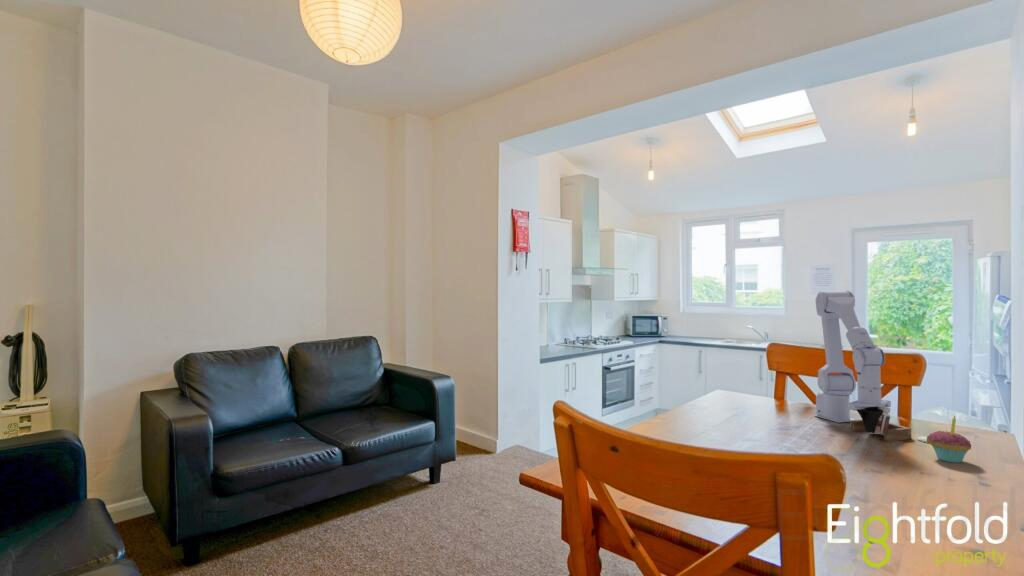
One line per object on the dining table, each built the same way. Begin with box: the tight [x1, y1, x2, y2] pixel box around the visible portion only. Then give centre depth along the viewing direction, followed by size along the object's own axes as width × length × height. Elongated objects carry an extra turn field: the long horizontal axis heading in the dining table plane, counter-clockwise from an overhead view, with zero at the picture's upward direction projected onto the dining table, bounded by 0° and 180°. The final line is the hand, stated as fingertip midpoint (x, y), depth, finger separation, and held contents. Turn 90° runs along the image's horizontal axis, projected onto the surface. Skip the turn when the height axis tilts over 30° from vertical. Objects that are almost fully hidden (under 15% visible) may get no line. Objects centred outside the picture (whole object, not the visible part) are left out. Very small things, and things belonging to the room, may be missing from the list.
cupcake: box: [926, 415, 972, 464], centre depth 123 cm, size 9×8×12 cm
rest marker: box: [916, 436, 929, 444], centre depth 138 cm, size 6×6×1 cm
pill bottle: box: [875, 407, 891, 436], centre depth 144 cm, size 5×5×8 cm
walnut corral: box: [850, 419, 912, 443], centre depth 144 cm, size 11×9×3 cm
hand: (870, 432), depth 143 cm, fingers closed, pressing on pill bottle
